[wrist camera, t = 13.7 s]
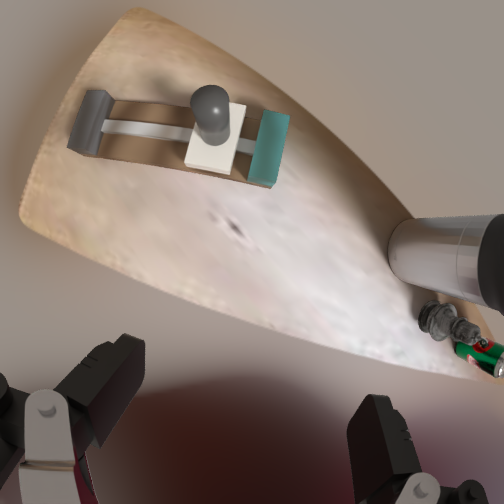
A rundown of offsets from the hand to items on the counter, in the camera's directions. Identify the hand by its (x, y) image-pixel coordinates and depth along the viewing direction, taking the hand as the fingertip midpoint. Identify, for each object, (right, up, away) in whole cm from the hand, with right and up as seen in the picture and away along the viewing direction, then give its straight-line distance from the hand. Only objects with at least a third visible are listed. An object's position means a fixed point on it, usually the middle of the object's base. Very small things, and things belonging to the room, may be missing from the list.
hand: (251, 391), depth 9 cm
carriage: (-4, +18, +22) cm, 28 cm away
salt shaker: (+28, -5, +28) cm, 40 cm away
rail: (-10, +19, +24) cm, 33 cm away
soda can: (+38, -12, +29) cm, 49 cm away
